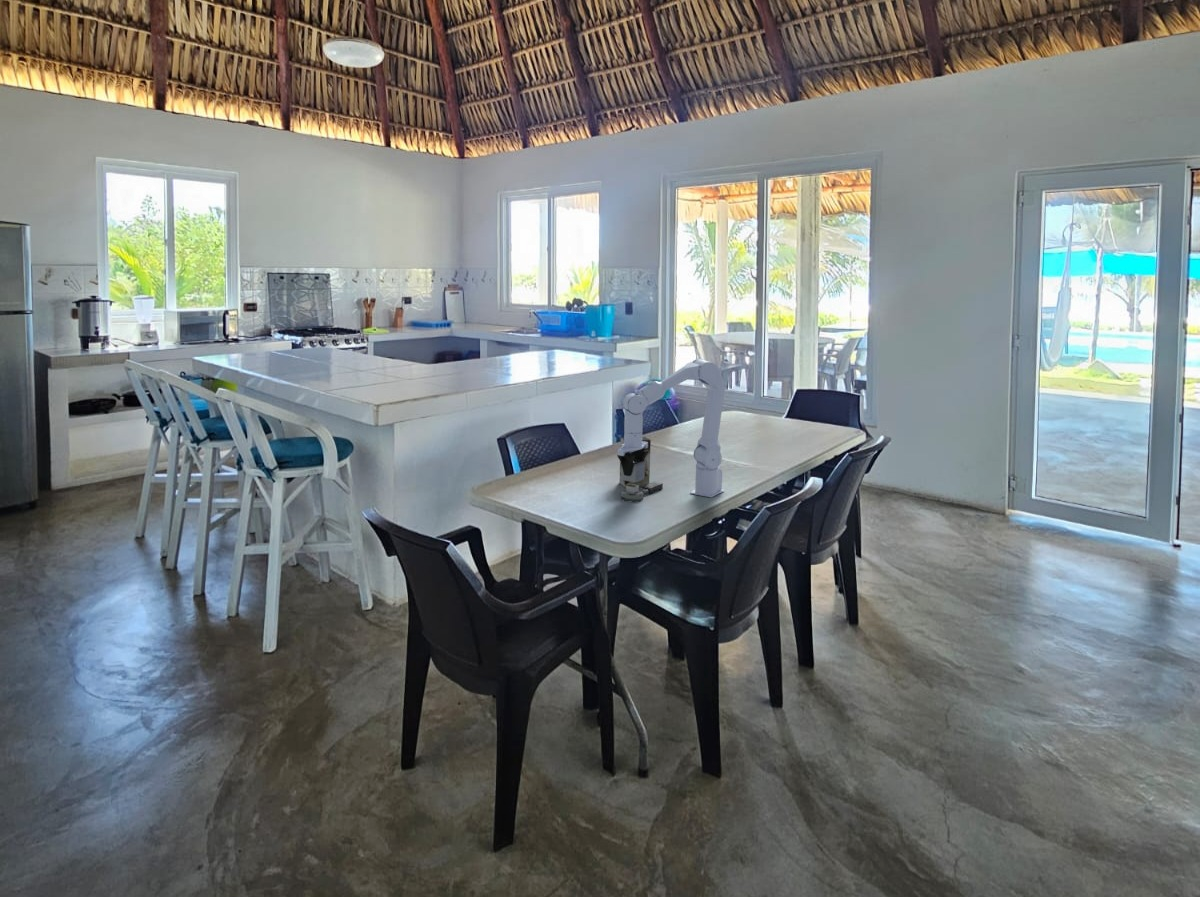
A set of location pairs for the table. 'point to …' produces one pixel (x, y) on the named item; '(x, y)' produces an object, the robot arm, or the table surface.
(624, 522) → the table surface
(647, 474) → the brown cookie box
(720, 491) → the robot arm
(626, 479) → the grey brushed cube
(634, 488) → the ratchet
